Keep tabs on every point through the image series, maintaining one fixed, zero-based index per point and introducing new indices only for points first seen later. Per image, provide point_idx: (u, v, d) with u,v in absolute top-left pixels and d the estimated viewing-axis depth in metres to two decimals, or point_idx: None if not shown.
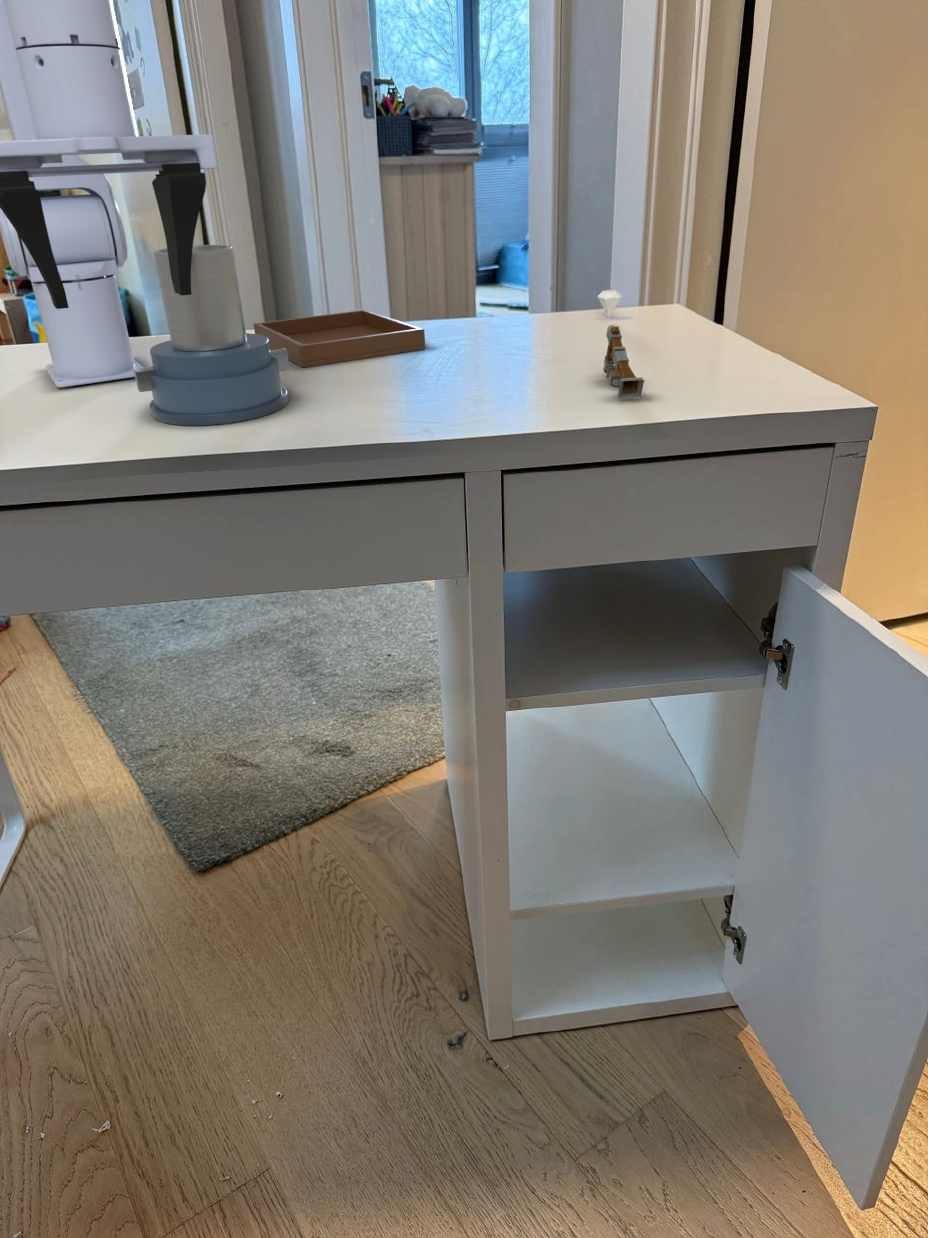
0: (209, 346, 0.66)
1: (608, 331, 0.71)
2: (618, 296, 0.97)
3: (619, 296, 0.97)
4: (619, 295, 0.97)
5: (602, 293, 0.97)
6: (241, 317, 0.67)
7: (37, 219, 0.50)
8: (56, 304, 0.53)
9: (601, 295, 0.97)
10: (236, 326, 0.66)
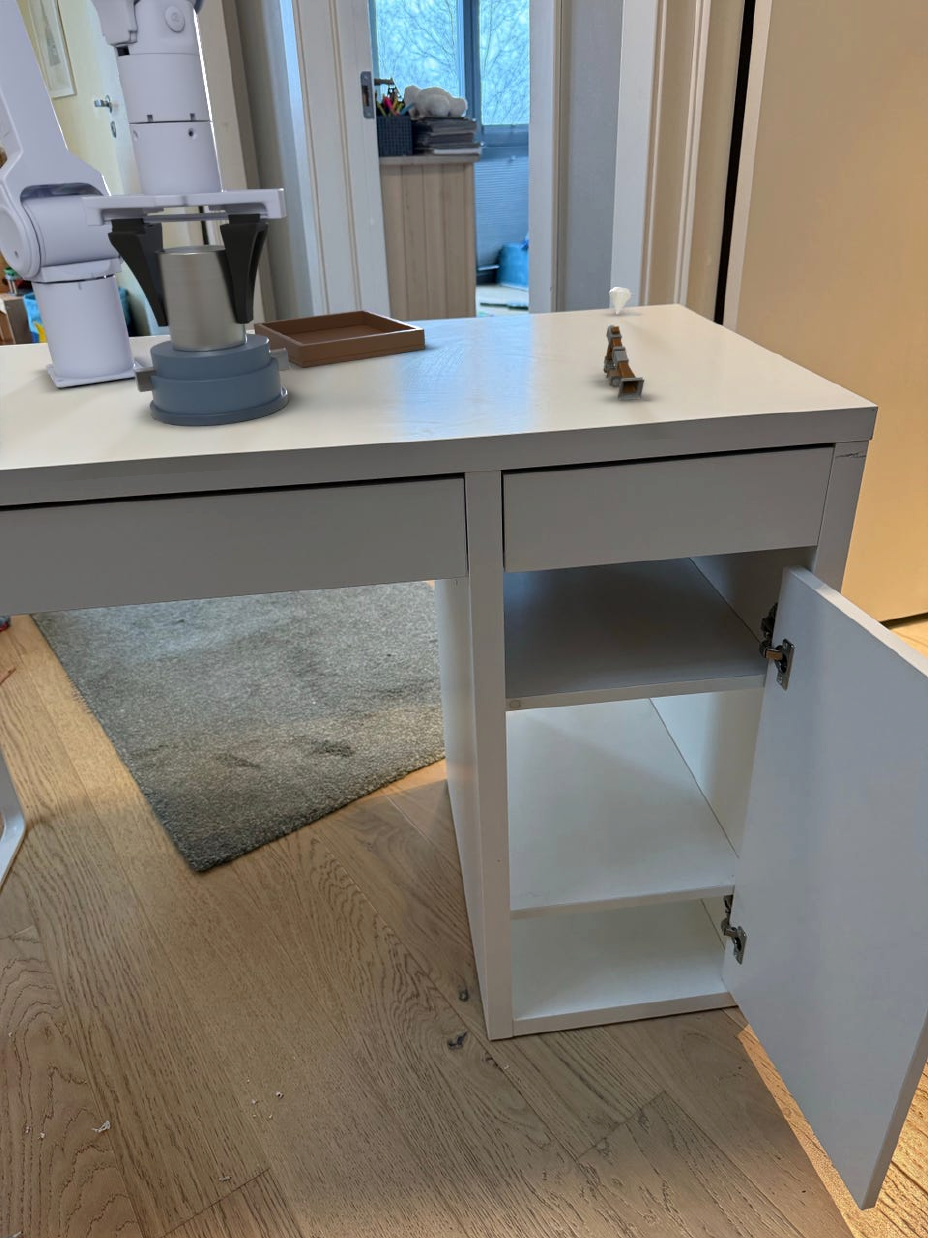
0: (209, 346, 0.66)
1: (608, 331, 0.71)
2: (630, 293, 0.99)
3: (630, 293, 0.99)
4: (630, 293, 0.99)
5: (614, 288, 0.99)
6: None
7: (139, 257, 0.63)
8: (157, 323, 0.67)
9: (613, 289, 0.99)
10: (236, 326, 0.66)
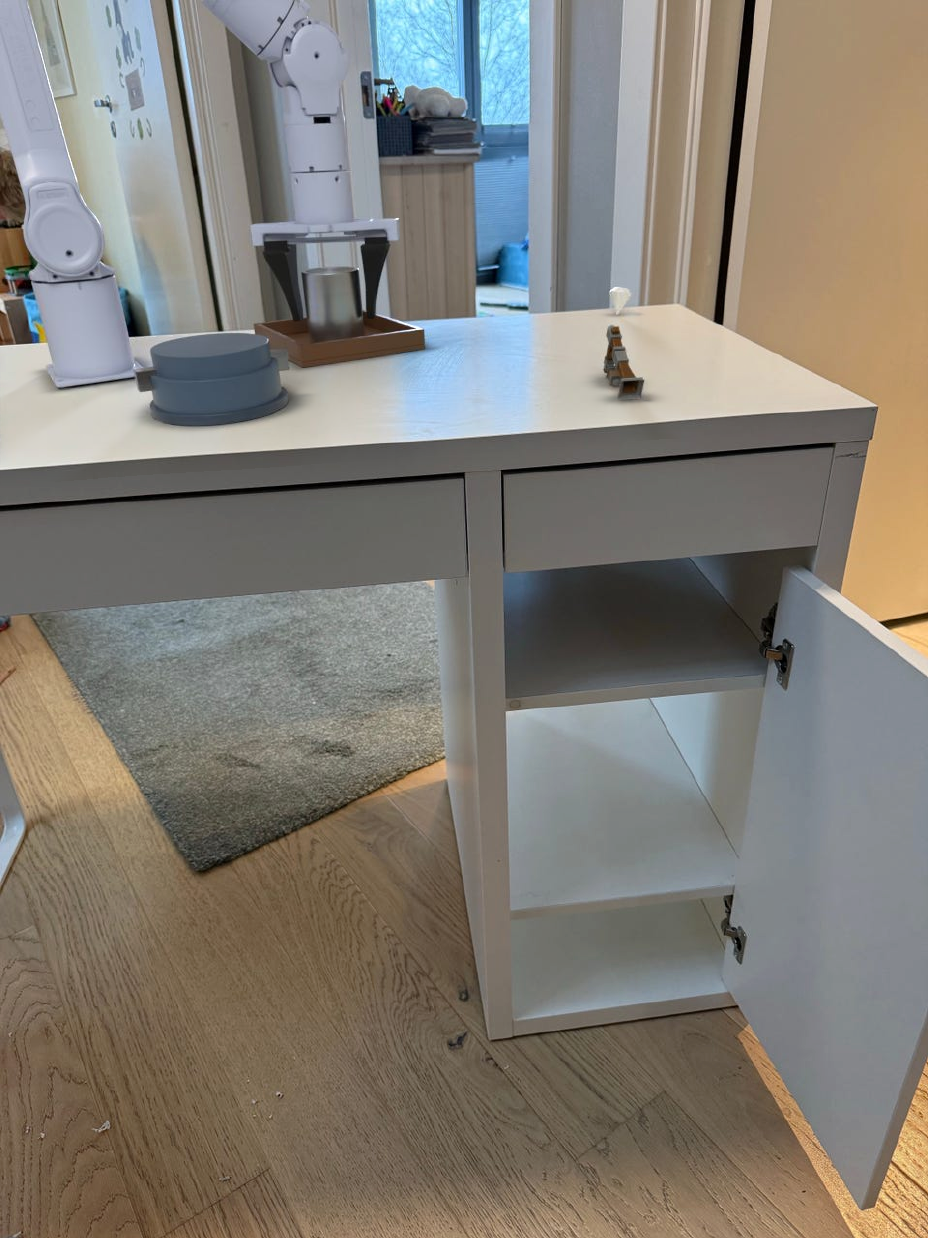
0: None
1: (608, 331, 0.71)
2: (630, 293, 0.99)
3: (630, 293, 0.99)
4: (630, 293, 0.99)
5: (614, 288, 0.99)
6: (362, 320, 0.89)
7: (285, 269, 0.85)
8: (293, 318, 0.89)
9: (613, 289, 0.99)
10: (359, 327, 0.89)
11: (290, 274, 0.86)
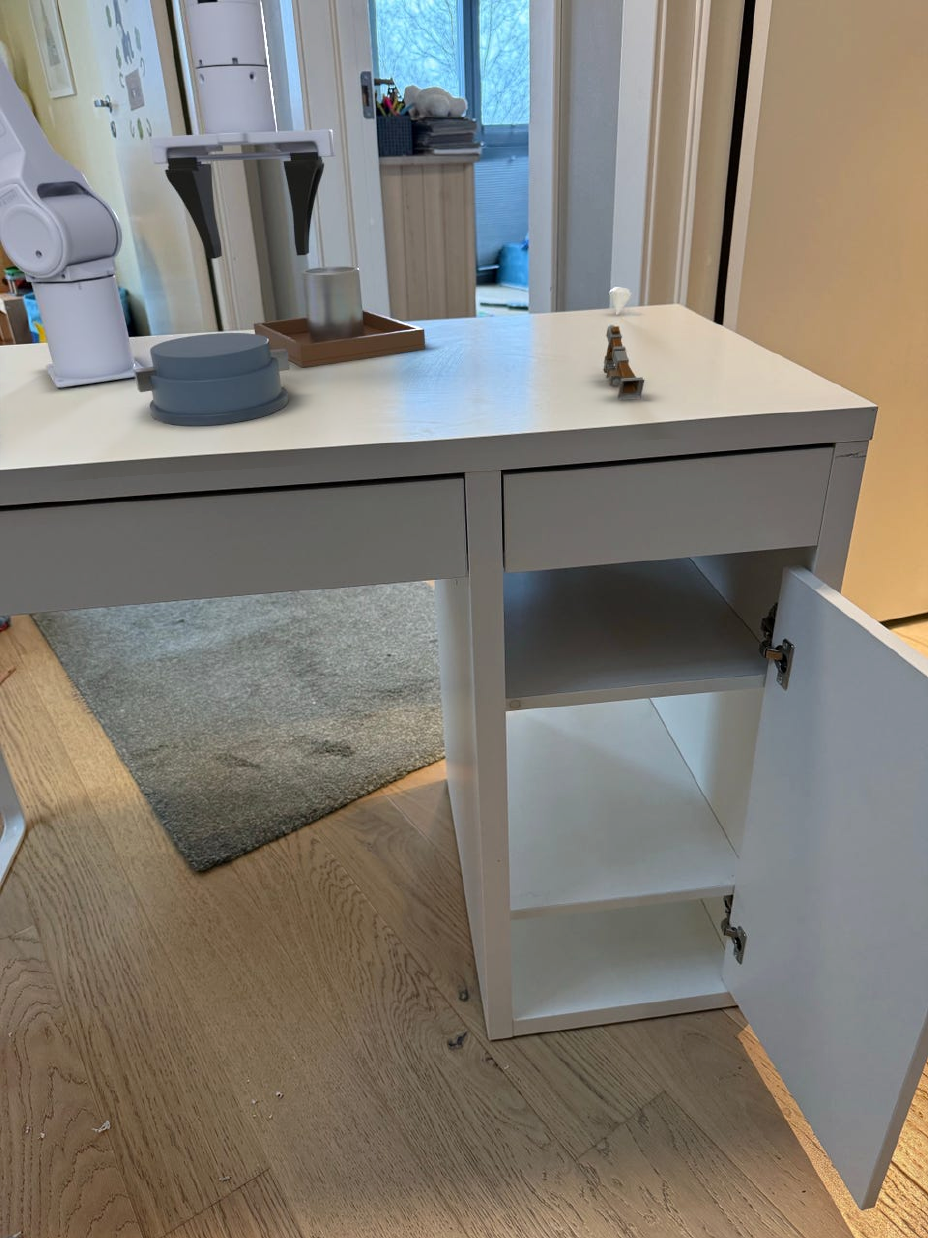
0: None
1: (608, 331, 0.71)
2: (630, 293, 0.99)
3: (630, 293, 0.99)
4: (630, 293, 0.99)
5: (614, 288, 0.99)
6: (362, 320, 0.89)
7: (193, 192, 0.70)
8: (207, 255, 0.73)
9: (613, 289, 0.99)
10: (359, 327, 0.89)
11: (200, 198, 0.70)
